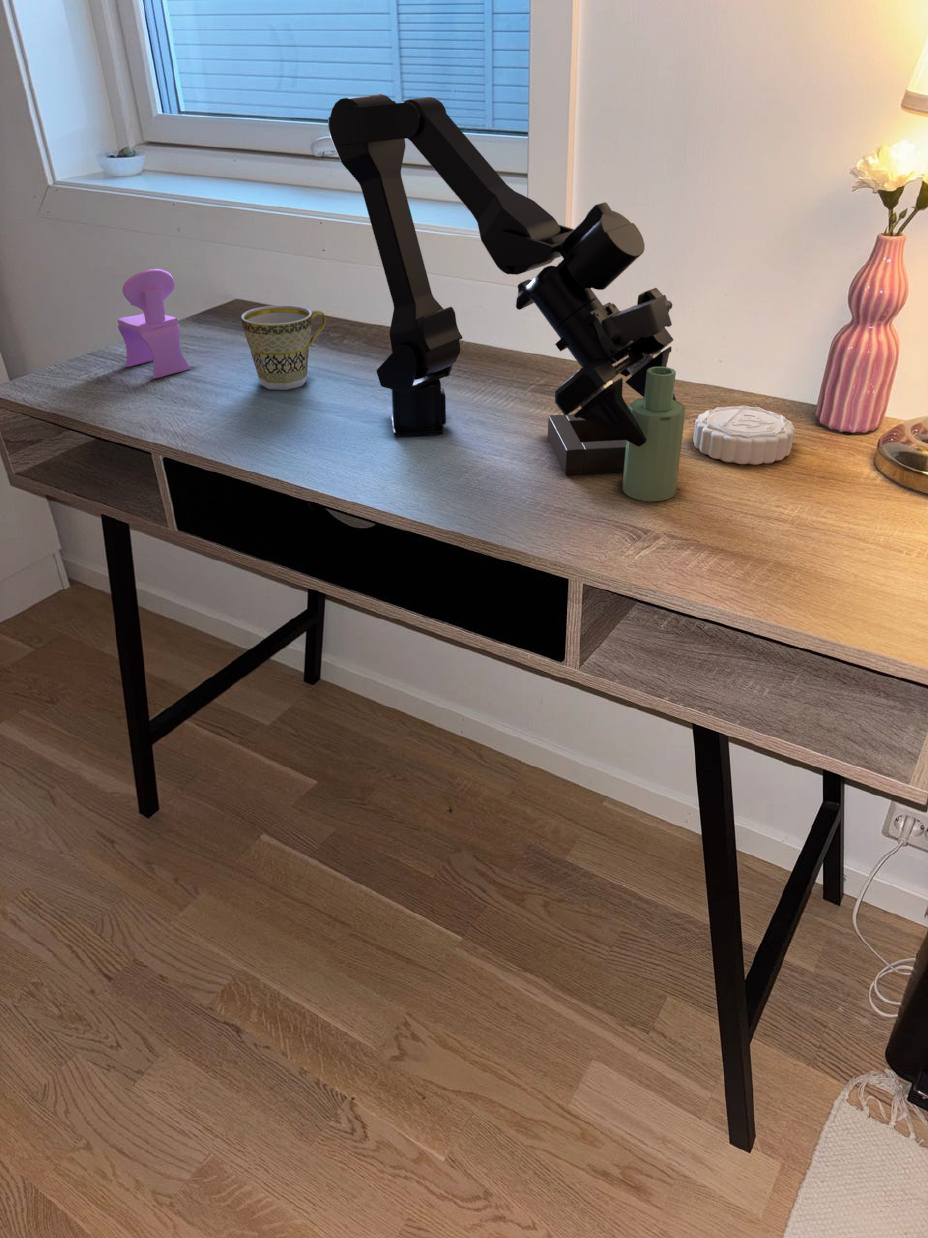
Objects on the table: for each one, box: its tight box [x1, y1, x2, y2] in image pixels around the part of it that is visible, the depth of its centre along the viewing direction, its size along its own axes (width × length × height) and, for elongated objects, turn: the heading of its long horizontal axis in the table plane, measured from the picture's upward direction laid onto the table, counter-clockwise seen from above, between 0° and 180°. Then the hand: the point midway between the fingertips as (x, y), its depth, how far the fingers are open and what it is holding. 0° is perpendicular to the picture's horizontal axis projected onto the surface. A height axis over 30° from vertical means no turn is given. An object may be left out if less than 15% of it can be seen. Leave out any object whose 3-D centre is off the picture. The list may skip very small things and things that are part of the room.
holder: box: [547, 413, 626, 476], centre depth 120 cm, size 11×11×3 cm
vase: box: [622, 366, 687, 502], centre depth 108 cm, size 6×6×14 cm
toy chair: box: [116, 268, 191, 379], centre depth 147 cm, size 8×9×15 cm
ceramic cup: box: [240, 304, 327, 391], centre depth 142 cm, size 13×10×10 cm
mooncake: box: [692, 405, 796, 466], centre depth 122 cm, size 12×12×4 cm
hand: (660, 430), depth 108 cm, fingers open, 9 cm apart
